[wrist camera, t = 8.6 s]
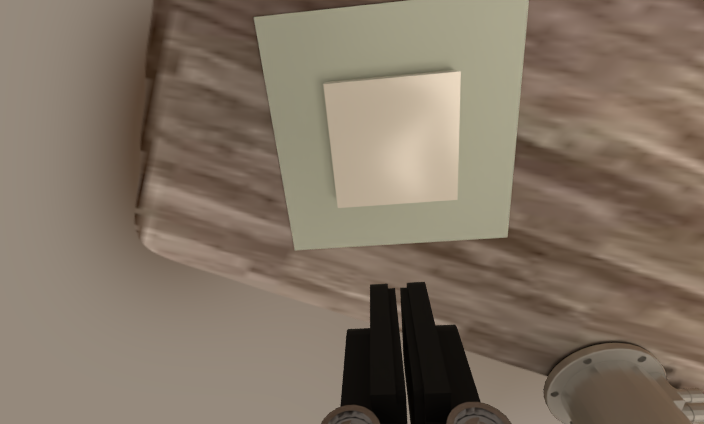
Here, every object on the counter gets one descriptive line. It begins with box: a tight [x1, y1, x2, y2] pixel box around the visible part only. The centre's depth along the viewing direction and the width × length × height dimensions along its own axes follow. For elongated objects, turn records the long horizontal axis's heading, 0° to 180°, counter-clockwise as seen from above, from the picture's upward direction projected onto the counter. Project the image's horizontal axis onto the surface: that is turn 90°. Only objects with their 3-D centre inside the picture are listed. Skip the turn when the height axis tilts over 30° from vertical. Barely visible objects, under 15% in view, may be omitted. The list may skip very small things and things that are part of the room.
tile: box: [323, 70, 461, 208], centre depth 30 cm, size 2×10×10 cm
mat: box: [254, 0, 529, 250], centre depth 31 cm, size 20×20×1 cm
